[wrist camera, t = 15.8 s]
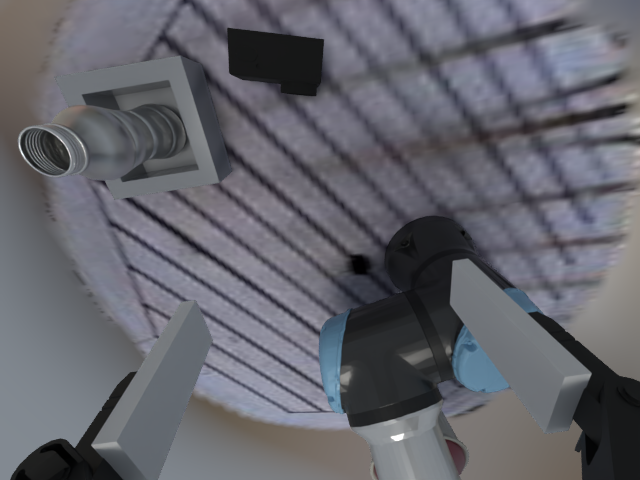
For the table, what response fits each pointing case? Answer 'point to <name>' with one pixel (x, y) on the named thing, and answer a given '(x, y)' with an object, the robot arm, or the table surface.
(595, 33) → the table surface
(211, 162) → the well
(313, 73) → the digital camera
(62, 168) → the plastic bottle
